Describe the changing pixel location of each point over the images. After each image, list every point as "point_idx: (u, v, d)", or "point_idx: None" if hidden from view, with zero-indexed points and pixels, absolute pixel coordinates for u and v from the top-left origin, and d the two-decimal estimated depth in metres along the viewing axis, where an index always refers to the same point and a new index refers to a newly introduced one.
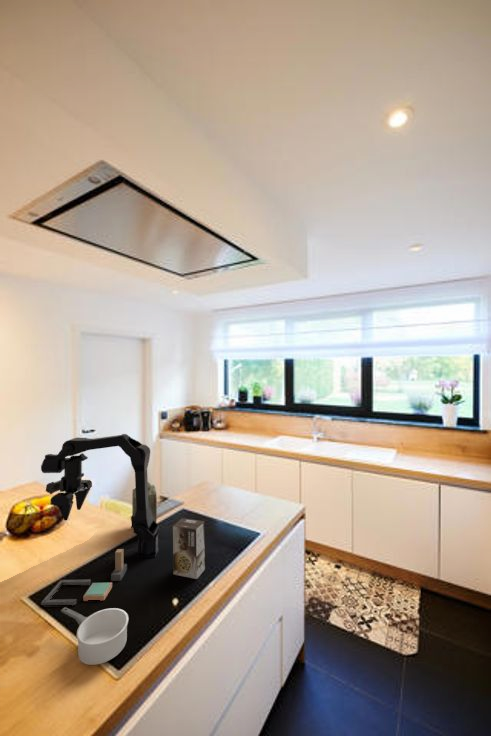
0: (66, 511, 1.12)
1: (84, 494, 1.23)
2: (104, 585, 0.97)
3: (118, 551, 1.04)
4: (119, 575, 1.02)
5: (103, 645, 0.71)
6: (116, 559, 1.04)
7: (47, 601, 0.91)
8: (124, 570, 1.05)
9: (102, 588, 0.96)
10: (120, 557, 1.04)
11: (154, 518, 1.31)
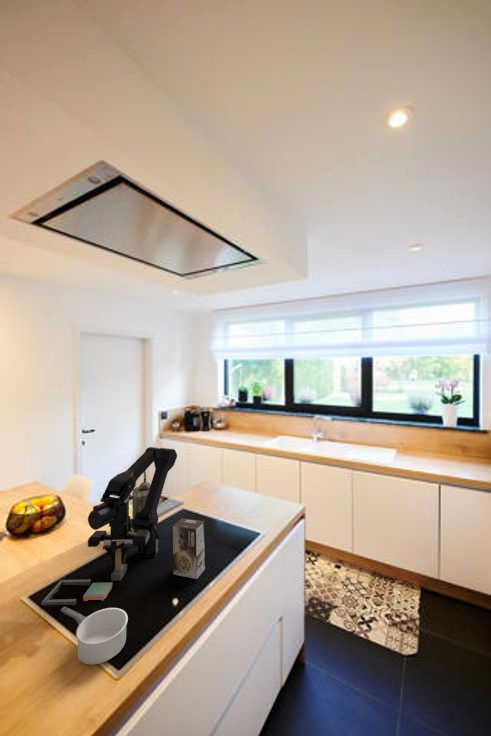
0: None
1: None
2: (104, 585, 0.97)
3: (118, 551, 1.04)
4: (119, 575, 1.02)
5: (102, 645, 0.71)
6: (116, 559, 1.04)
7: (47, 601, 0.91)
8: (124, 570, 1.05)
9: (102, 588, 0.96)
10: (120, 557, 1.04)
11: None
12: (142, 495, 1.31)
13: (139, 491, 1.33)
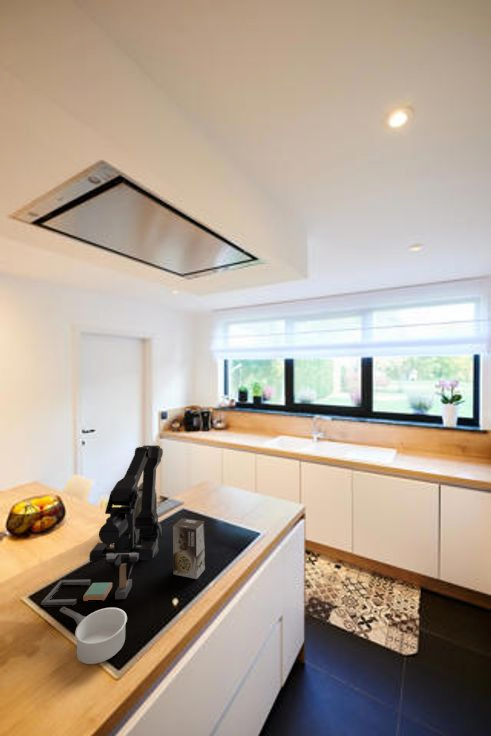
0: None
1: None
2: (104, 585, 0.97)
3: (123, 566, 0.96)
4: (124, 593, 0.93)
5: (101, 644, 0.72)
6: (120, 575, 0.95)
7: (47, 601, 0.91)
8: (129, 586, 0.97)
9: (102, 588, 0.96)
10: (125, 572, 0.95)
11: None
12: None
13: (139, 491, 1.33)
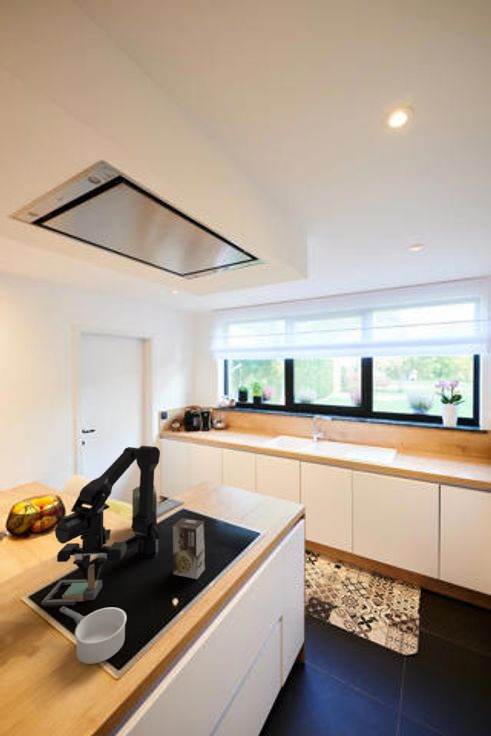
0: None
1: None
2: (84, 585, 0.97)
3: (91, 567, 0.95)
4: (92, 594, 0.93)
5: (101, 644, 0.72)
6: (89, 576, 0.95)
7: (47, 601, 0.91)
8: (98, 587, 0.96)
9: (81, 588, 0.95)
10: (93, 573, 0.95)
11: None
12: None
13: None
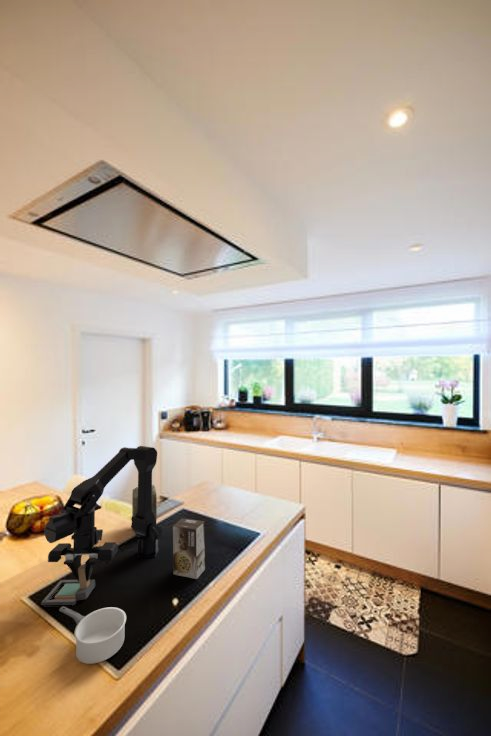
0: None
1: None
2: (76, 586, 0.97)
3: (81, 567, 0.95)
4: (84, 593, 0.93)
5: (101, 644, 0.72)
6: (80, 576, 0.95)
7: (47, 601, 0.91)
8: (91, 587, 0.96)
9: (74, 589, 0.95)
10: (84, 573, 0.95)
11: None
12: None
13: None
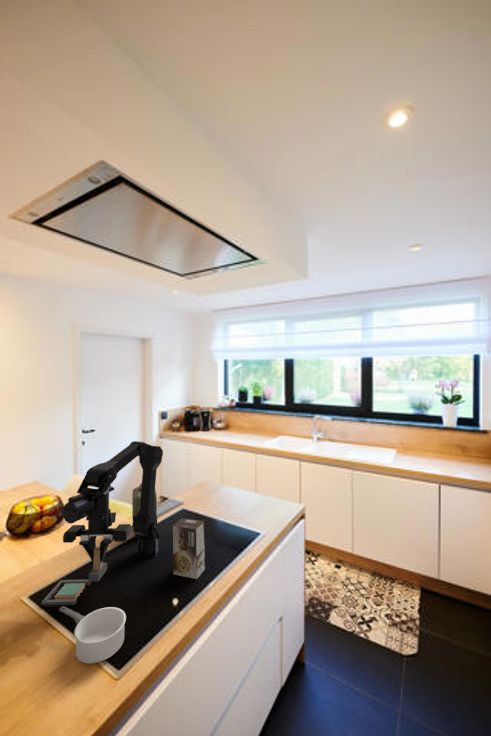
0: None
1: None
2: (76, 586, 0.97)
3: (97, 549, 0.96)
4: (97, 575, 0.93)
5: (100, 644, 0.72)
6: (94, 557, 0.95)
7: (47, 601, 0.91)
8: (103, 569, 0.96)
9: (74, 589, 0.95)
10: (99, 555, 0.95)
11: None
12: None
13: (139, 491, 1.33)
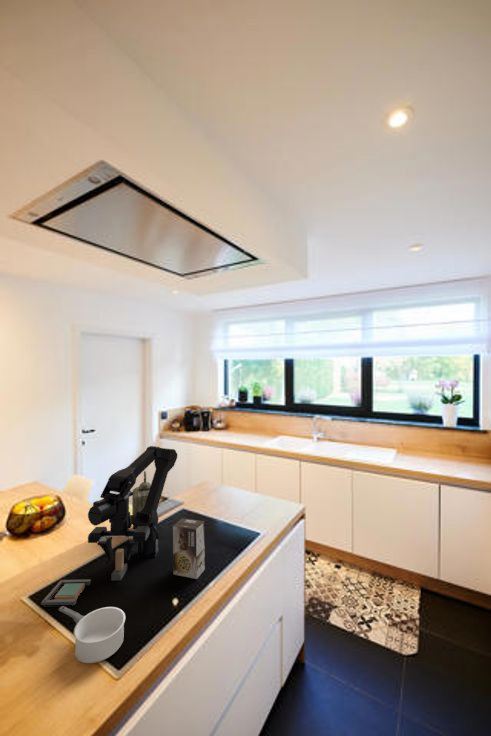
0: None
1: None
2: (76, 586, 0.97)
3: (118, 551, 1.05)
4: (119, 575, 1.02)
5: (100, 643, 0.72)
6: (116, 559, 1.04)
7: (47, 601, 0.91)
8: (124, 570, 1.05)
9: (74, 589, 0.95)
10: (120, 557, 1.04)
11: None
12: (142, 495, 1.31)
13: (139, 491, 1.33)
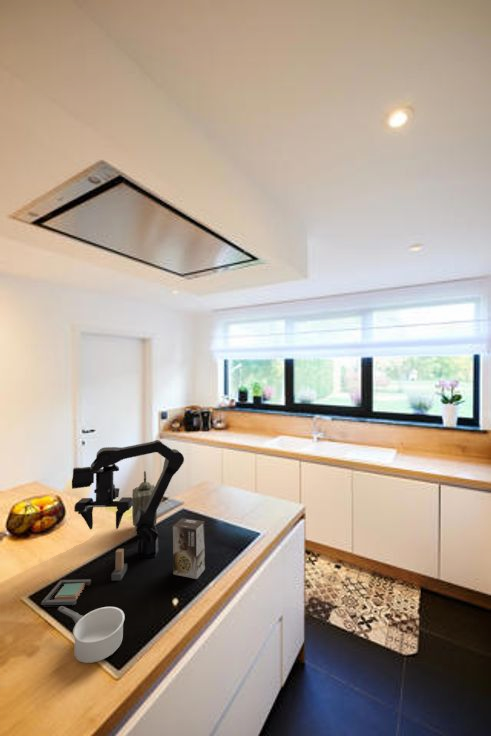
0: None
1: None
2: (76, 585, 0.97)
3: (118, 551, 1.05)
4: (119, 575, 1.02)
5: (99, 643, 0.72)
6: (116, 559, 1.04)
7: (47, 601, 0.91)
8: (124, 570, 1.05)
9: (74, 588, 0.95)
10: (120, 557, 1.04)
11: None
12: (142, 495, 1.31)
13: (139, 491, 1.33)
